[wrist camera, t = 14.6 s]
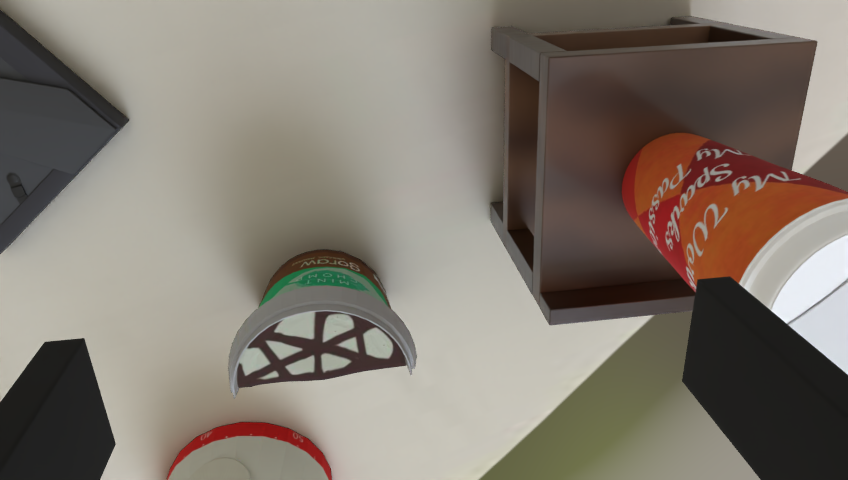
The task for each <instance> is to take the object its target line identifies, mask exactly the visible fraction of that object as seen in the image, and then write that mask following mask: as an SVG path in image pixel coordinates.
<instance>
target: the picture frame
mask: <svg viewBox="0 0 848 480" xmlns="http://www.w3.org/2000/svg"><path fill="white" fill-rule="evenodd" d="M128 121H129V119H127V118H126V117H125V116H124V115H123V114H122V113H120V112H119V111H118V110H117V109H116V108H115V107H113V106H112V105H111V104H110V103H109V102H108V101H106V100H105V99H104V98H103V97H102V96H101V95H99V94H98V93H97V92H96V91H95V90H94V89H92V88H91V87H90V86H89V85H88V84H86V83H85V82H84V81H83V80H82V79H81V78H79V77H78V76H77V75H76V74H75V73H74V72H72V71H71V70H70V69H69V68H68V67H67V66H65V65H64V64H63V63H62V62H61V61H60V60H58V59H57V58H56V57H55V56H54V55H53V54H51V53H50V52H49V51H48V50H47V49H46V48H44V47H43V46H42V45H41V44H40V43H39V42H37V41H36V40H35V39H34V38H33V37H31V36H30V35H29V34H28V33H27V32H26V31H24V30H23V29H22V28H21V27H20V26H19V25H17V24H16V23H15V22H14V21H13V20H12V19H10V18H9V17H8V16H7V15H6V14H5V13H3V12H2V11H1V10H0V254H1V253H2V252H3V251H4V250H5V249H6V248H7V247H8V246H9V245H10V244H11V243H12V242H13V241H14V240H15V239H16V238H17V237H18V236H19V235H20V234H21V233H22V232H23V230H24V229H25V228H26V227H27V226H28V225H29V224H30V223H31V222H32V221H33V220H34V219H35V218H36V217H37V216H38V215H39V214H40V213H41V212H42V211H43V210H44V209H45V208H46V207H47V206H48V204H49V203H50V202H51V201H52V200H53V199H54V198H55V197H56V196H57V195H58V194H59V193H60V192H61V191H62V190H63V189H64V188H65V187H66V186H67V185H68V184H69V183H70V182H71V181H72V179H73V178H74V177H75V176H76V175H77V174H78V173H79V172H80V171H81V170H82V169H83V168H84V167H85V166H86V165H87V164H88V163H89V162H90V161H91V160H92V159H93V158H94V157H95V156H96V154H97V153H98V152H99V151H100V150H101V149H102V148H103V147H104V146H105V145H106V144H107V143H108V142H109V141H110V140H111V139H112V138H113V137H114V136H115V135H116V134H117V133H118V132H119V131H120V129H121V128H122V127H123V126H124V125H125V124H126V123H127V122H128Z"/></svg>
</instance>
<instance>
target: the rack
mask: <svg viewBox="0 0 848 480" xmlns="http://www.w3.org/2000/svg"><path fill="white" fill-rule="evenodd" d="M816 46H817V41H815V40H810V39H805V38H800V37H794V36H789V35H784V34H779V33H774V32H769V31H764V30H759V29H753V28H748V27H743V26H738V25H733V24H729V23H724V22H718V21H712V20H707V19H702V18H697V17H692V16H688V17H673V18H671V25H667V26H650V27H632V28H614V29H597V30H579V31H562V32H544V33H526V32H524V31H522V30H519V29H517V28H515V27H513V26H508V27H493V28H492V29H491V50H492V51H494V52H495V53H497V54H498V55H500V56H501V57H503V58H504V59H505V108H504V192H503V202H498V203H491V223H492V225H493V226H494V228H495V230H496V232H497V233H498V235H499V237H500V239H501V241H502V242H503V244H504V246H505V248H506V249H507V251H508V253H509V255H510V256H511V258H512V260H513V262H514V264H515V265H516V267H517V269H518V271H519V272H520V274H521V276H522V278H523V280H524V281H525V283H526V285H527V287H528V288H529V290H530V292H531V294H532V295H533V297H534V298H535V300H536V302H537V304H538V305H539V307H540V309H541V311H542V313H543V315H544V316H545V318H546V320H547V322H548V323H549V325H558V324H568V323H578V322H588V321H598V320H608V319H618V318H628V317H638V316H647V315H657V314H667V313H676V312H687V311H693V305H694V299H695V292H694V290H693V289H692V288H691V287H690V286H689V285H688V284H687V282H686V281H685V280H684V279H683V278H682V277H681V276H680V274H679V273H678V272H677V271H676V270H675V269H674V268H673V266H672V265H671V264H670V263H669V262H668V261H667V260H666V258H665V257H664V256H663V255H662V254H661V253H660V252H659V250H658V249H657V248H656V247H655V246H654V245H653V243H652V242H651V241H650V240H649V239H648V238H647V236H646V235H645V234H644V233H643V232H642V230H641V229H640V228H639V227H638V226H637V224H636V223H635V222H634V221H633V219H632V218H631V216H630V215H629V213H628V212H627V210H626V208H625V205H624V202H623V198H622V183H623V178H624V175H625V172H626V170H627V167H628V166H629V164H630V162H631V161H632V159H633V158H634V156H635V155H636V154H637V153H638V152H639V151H640V150H641V149H642V148H643V147H644V146H645V145H647V144H648V143H650V142H651V141H653V140H655V139H657V138H659V137H661V136H664V135H667V134H672V133H689V134H694V135H698V136H701V137H704V138H707V139H710V140H713V141H715V142H718V143H721V144H724V145H726V146H729V147H731V148H734V149H737V150H739V151H742V152H744V153H747V154H749V155H752V156H755V157H757V158H760V159H762V160H765V161H767V162H770V163H772V164H775V165H778V166H780V167H783V168H786V169H789V170H792V165H793V160H794V155H795V150H796V145H797V140H798V135H799V130H800V125H801V120H802V115H803V111H804V106H805V101H806V96H807V91H808V86H809V81H810V76H811V71H812V66H813V61H814V56H815V51H816Z"/></svg>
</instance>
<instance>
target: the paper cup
mask: <svg viewBox="0 0 848 480" xmlns="http://www.w3.org/2000/svg"><path fill="white" fill-rule="evenodd" d="M622 198H623V202H624V205H625V208H626V210H627V212H628V213H629V215H630V216H631V218H632V219H633V221H634V222H635V223H636V224H637V226H638V227H639V228H640V229H641V230H642V232H643V233H644V234H645V235H646V236H647V238H648V239H649V240H650V241H651V242H652V243H653V245H654V246H655V247H656V248H657V249H658V250H659V252H660V253H661V254H662V255H663V256H664V257H665V258H666V260H667V261H668V262H669V263H670V264H671V265H672V266H673V268H674V269H675V270H676V271H677V272H678V273H679V274H680V276H681V277H682V278H683V279H684V280H685V281H686V282H687V284H688V285H689V286H690V287H691V288H692V289H693V290H694V292H696V285H697V279H707V278H717V277H728V276H730V277H731V278H733V279H734V280H735V281H736V282H737V283H739V284H740V285H741V286H742V287H743V288H745V289H746V290H747V291H748V292H749V293H751V294H752V295H753V296H754V297H755V298H757V299H758V300H759V301H760V302H761V303H763V304H764V305H765V306H766V307H767V308H769V309H770V310H771V311H772V312H773V313H775V314H776V315H777V316H778V317H779V318H781V319H782V320H783V321H784V322H785V323H787V324H788V325H789V326H790V327H791V328H792V329H794V330H795V331H796V332H797V333H798V334H800V335H801V336H802V337H803V338H804V339H806V340H807V341H808V342H809V343H810V344H812V345H813V346H814V347H815V348H816V349H818V350H819V351H820V352H821V353H822V354H824V355H825V356H826V357H827V358H828V359H830V360H831V361H832V362H833V363H834V364H836V365H837V366H838V367H839V368H840V369H842V370H843V371H844V372H845V373H846V374H848V192H846V191H844V190H841V189H839V188H837V187H834V186H832V185H830V184H827V183H824V182H822V181H819V180H816V179H813V178H811V177H808V176H805V175H802V174H800V173H797V172H794V171H791V170H789V169H786V168H783V167H780V166H778V165H775V164H772V163H770V162H767V161H765V160H762V159H760V158H757V157H755V156H752V155H749V154H747V153H744V152H742V151H739V150H737V149H734V148H731V147H729V146H726V145H724V144H721V143H718V142H715V141H713V140H710V139H707V138H704V137H701V136H698V135H694V134H689V133H672V134H667V135H664V136H661V137H659V138H657V139H655V140H653V141H651V142H650V143H648V144H647V145H645V146H644V147H643V148H642V149H641V150H640V151H639V152H638V153H637V154H636V155H635V156H634V158H633V159H632V161H631V162H630V164H629V166H628V167H627V170H626V172H625V175H624V178H623V183H622Z"/></svg>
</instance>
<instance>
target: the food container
mask: <svg viewBox="0 0 848 480" xmlns="http://www.w3.org/2000/svg"><path fill="white" fill-rule="evenodd" d="M416 358H417V355H416V350H415V345H414V342H413V339H412V337H411V334H410V332H409V330H408V329H407V327H406V326H405V324H404V322H403V321H402V320H401V319H400V318H399V317H398V315H397V314H396V313H395V312H394V311H393V310H391V307H390V304H389V301H388V299H387V296H386V293H385V290H384V288H383V286H382V284H381V282H380V281H379V279H378V277H377V275H376V274H375V272H374V271H373V270H372V269H371V268H369V267H368V266H367V265H366V264H365V263H364V262H363V261H362V260H360V259H358V258H356V257H353V256H351V255H349V254H347V253H344V252H341V251H334V250H315V251H309V252H306V253H303V254H300V255H297V256H296V257H294V258H292V259H290V260H289V261H287V262H286V263H285V264H283V265H282V266H281V267H280V268H279V269H278V270H277V271H276V272H275V274H274V275H273V277H272V278H271V280H270V282H269V284H268V286H267V289H266V291H265V293H264V296H263V298H262V300H261V303H260V305H259V308H258V309H256V310H255V311H254V312H253V313H252V314H251V315H250V316H249V317H248V318H247V319H246V320H245V322H244V323H243V325H242V326H241V327H240V329H239V330H238V332H237V334H236V336H235V338H234V341H233V343H232V346H231V350H230V354H229V367H228V370H229V380H230V388H231V393H232V392H233V396H234V398H235V397H236V395H237V392H238V390H239V388H242V387H252V386H256V385H261V384H268V383H276V382H287V381H312V380H325V379H330V378H335V377H339V376H344V375H348V374H352V373H357V372H362V371H368V370H376V369H383V368H391V367H399V366H406V365H407V366H408V369H409V372H410V374H411V375H412V370H411V369H414V368H415V364H416Z"/></svg>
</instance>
